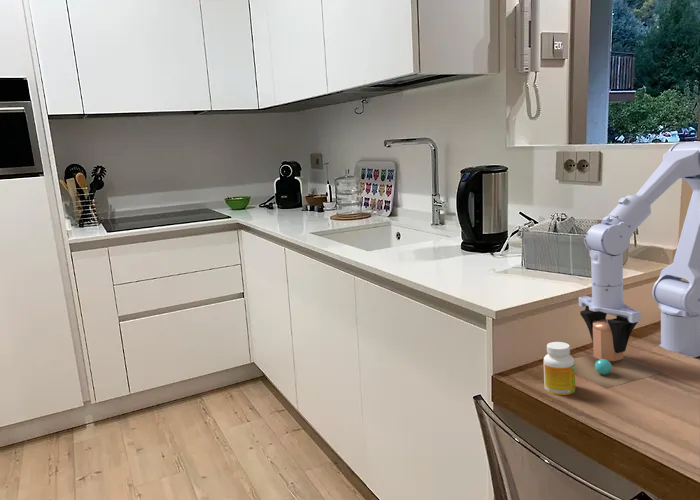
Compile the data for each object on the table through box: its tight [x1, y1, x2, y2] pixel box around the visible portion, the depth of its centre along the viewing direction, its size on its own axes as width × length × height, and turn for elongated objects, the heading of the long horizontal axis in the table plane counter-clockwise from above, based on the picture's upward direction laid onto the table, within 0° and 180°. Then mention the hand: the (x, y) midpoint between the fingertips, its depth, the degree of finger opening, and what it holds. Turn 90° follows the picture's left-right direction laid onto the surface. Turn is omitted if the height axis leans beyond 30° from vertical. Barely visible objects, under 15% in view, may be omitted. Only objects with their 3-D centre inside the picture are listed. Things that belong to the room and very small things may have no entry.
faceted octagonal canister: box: [592, 318, 624, 361], centre depth 110 cm, size 6×6×7 cm
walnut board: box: [573, 353, 666, 389], centre depth 107 cm, size 14×14×1 cm
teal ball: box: [595, 359, 612, 375], centre depth 104 cm, size 3×3×3 cm
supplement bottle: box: [543, 341, 576, 396], centre depth 99 cm, size 5×5×10 cm
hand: (608, 347), depth 110 cm, fingers closed on faceted octagonal canister, 5 cm apart
